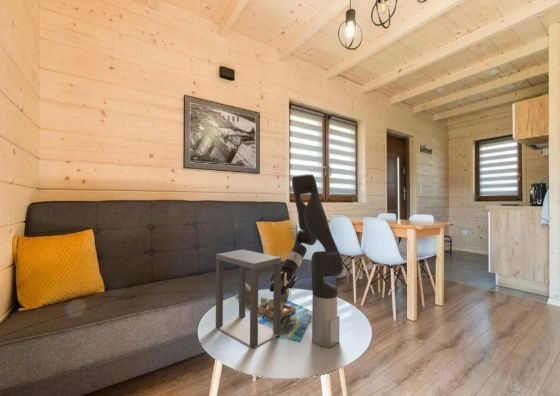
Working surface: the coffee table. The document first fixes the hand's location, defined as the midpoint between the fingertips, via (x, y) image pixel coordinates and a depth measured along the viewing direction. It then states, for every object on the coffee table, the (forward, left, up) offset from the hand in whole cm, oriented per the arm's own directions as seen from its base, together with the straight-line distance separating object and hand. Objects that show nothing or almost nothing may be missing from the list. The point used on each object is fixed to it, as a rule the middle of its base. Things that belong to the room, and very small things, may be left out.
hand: (275, 292), depth 128 cm
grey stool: (-5, +21, -9) cm, 23 cm away
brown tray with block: (0, 0, -9) cm, 9 cm away
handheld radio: (+19, -1, -9) cm, 21 cm away
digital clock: (+11, -16, -9) cm, 21 cm away
